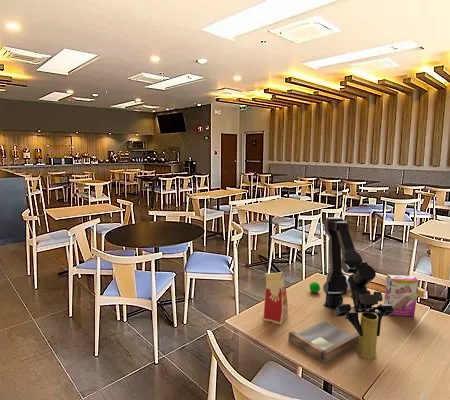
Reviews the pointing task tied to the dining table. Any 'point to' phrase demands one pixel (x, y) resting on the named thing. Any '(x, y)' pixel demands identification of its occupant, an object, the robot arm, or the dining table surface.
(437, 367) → the dining table surface
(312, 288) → the green pom pom ball
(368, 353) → the vase
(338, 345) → the arena
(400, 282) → the candy bar box
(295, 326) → the dining table surface
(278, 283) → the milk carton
